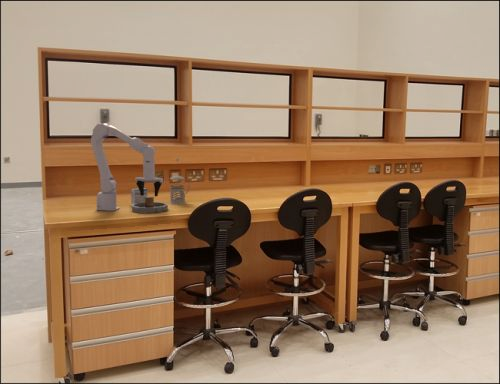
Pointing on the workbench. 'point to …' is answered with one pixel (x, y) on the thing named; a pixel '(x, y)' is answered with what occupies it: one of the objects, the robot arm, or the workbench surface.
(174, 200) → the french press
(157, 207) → the round tray
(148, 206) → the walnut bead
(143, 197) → the medicine box
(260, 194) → the workbench surface
